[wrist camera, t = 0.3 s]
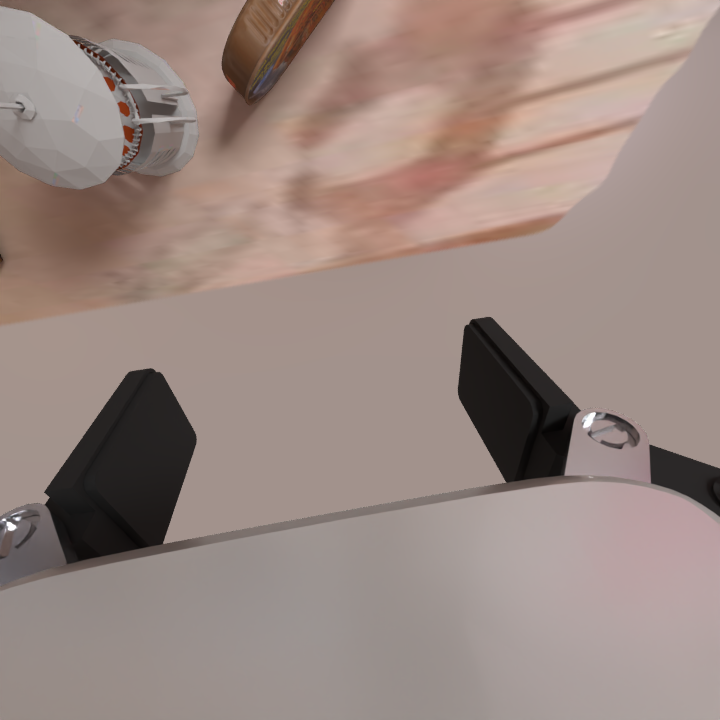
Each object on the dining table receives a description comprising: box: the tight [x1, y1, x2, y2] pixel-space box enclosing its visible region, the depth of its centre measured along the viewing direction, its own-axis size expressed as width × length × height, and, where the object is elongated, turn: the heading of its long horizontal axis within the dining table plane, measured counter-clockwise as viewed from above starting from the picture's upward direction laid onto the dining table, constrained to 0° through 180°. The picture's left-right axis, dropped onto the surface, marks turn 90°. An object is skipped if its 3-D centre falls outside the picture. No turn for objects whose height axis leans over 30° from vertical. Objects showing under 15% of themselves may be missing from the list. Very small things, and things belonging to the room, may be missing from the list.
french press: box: [0, 6, 199, 190], centre depth 20 cm, size 10×12×25 cm
